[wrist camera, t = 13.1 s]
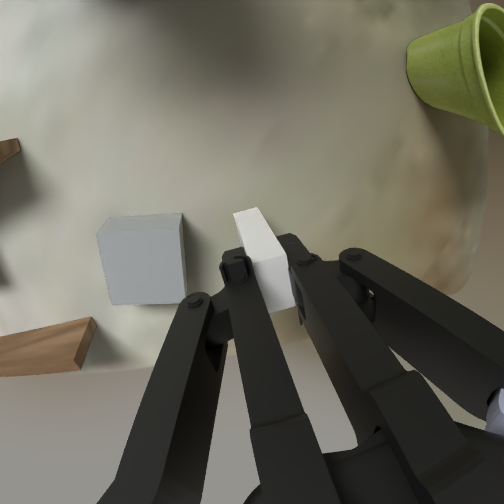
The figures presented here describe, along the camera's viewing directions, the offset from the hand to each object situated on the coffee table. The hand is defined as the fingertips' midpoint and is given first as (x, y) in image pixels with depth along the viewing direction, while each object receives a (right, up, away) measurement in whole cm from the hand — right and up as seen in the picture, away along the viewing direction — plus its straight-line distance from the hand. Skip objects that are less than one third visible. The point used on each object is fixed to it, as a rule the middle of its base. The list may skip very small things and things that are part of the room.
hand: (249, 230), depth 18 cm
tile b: (-7, -1, +1) cm, 7 cm away
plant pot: (+14, +13, -2) cm, 19 cm away
